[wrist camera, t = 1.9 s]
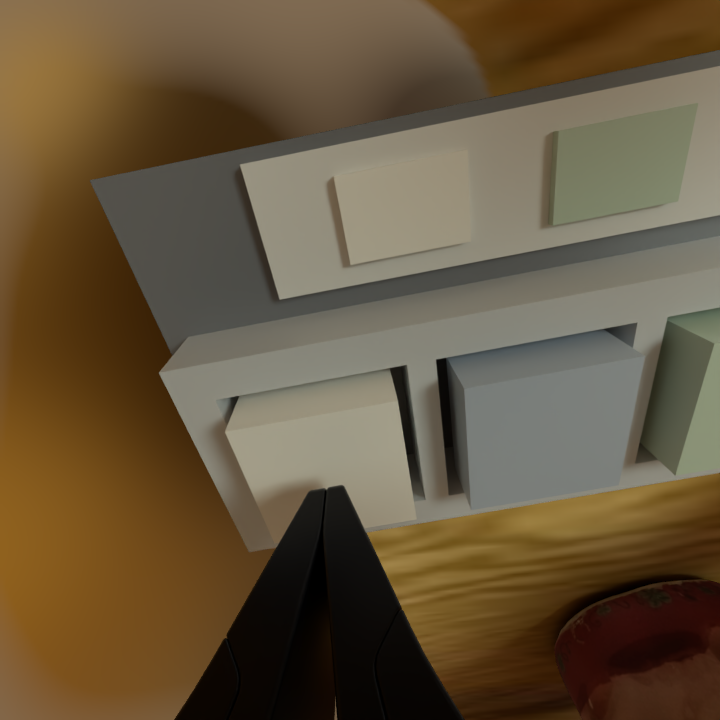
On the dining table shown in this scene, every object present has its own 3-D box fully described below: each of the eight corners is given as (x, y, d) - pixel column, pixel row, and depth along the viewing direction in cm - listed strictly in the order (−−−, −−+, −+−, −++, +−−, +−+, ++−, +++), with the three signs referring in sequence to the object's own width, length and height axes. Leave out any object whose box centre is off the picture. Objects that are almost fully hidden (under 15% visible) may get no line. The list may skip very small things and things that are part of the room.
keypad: (889, 17, 9) (1122, -41, 6) (747, 399, 14) (842, 455, 11) (112, 178, 10) (27, 186, 7) (249, 486, 15) (230, 558, 12)
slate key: (600, 327, 10) (645, 356, 8) (584, 445, 12) (618, 485, 10) (445, 355, 10) (464, 388, 8) (454, 468, 12) (471, 510, 10)
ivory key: (389, 366, 10) (397, 401, 9) (406, 476, 12) (416, 519, 10) (240, 393, 10) (224, 431, 9) (281, 498, 12) (274, 543, 11)
